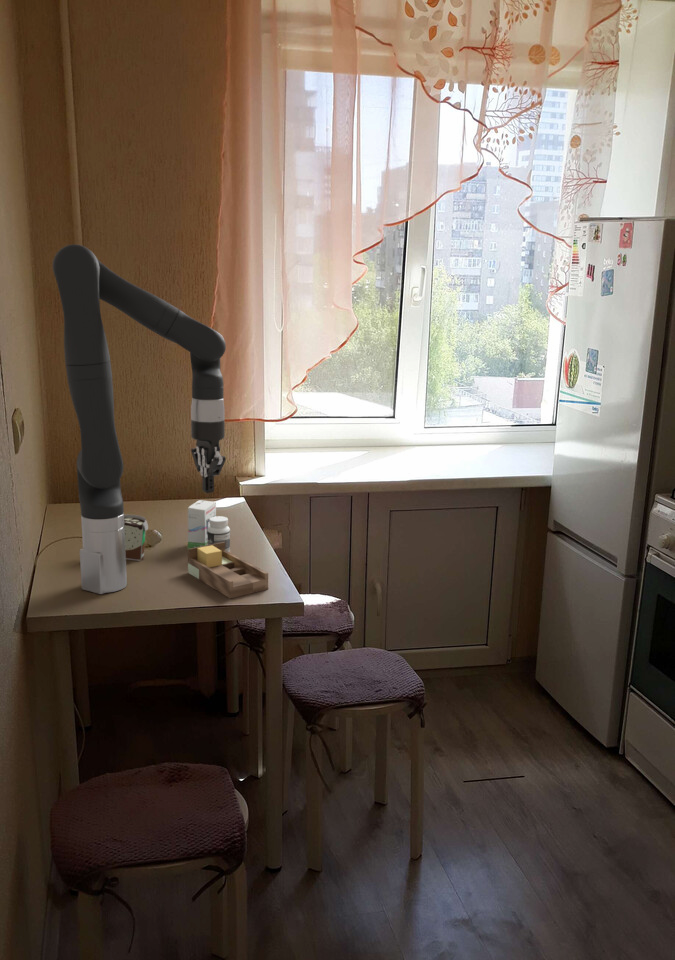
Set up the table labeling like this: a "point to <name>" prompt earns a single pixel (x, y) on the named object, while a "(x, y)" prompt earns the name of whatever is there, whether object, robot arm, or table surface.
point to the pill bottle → (219, 531)
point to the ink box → (199, 522)
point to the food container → (135, 536)
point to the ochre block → (209, 556)
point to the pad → (195, 571)
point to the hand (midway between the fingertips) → (208, 491)
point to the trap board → (230, 574)
